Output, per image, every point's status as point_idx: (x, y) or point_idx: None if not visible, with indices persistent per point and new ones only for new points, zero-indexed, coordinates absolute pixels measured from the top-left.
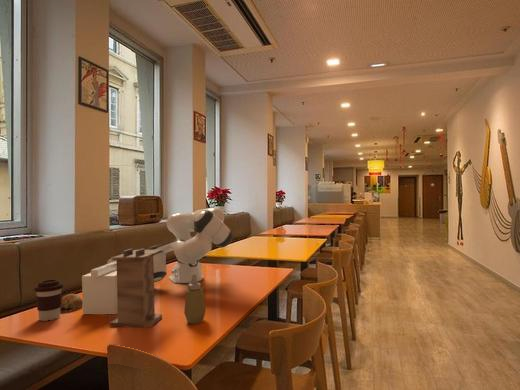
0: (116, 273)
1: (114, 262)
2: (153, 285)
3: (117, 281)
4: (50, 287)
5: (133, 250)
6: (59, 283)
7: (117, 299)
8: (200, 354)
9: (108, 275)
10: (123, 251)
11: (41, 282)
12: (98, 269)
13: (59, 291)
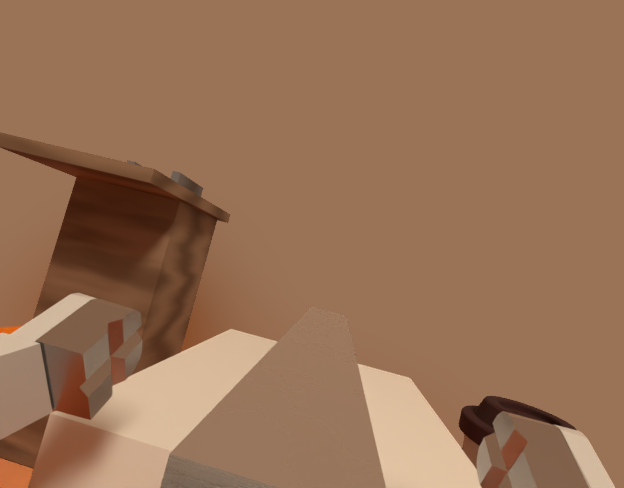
0: (232, 344)
1: (324, 348)
2: (40, 306)
3: (196, 288)
4: (471, 406)
5: (163, 175)
6: (488, 420)
7: (181, 346)
8: (17, 326)
9: (265, 341)
10: (201, 189)
11: (535, 408)
12: (315, 309)
13: (467, 448)
